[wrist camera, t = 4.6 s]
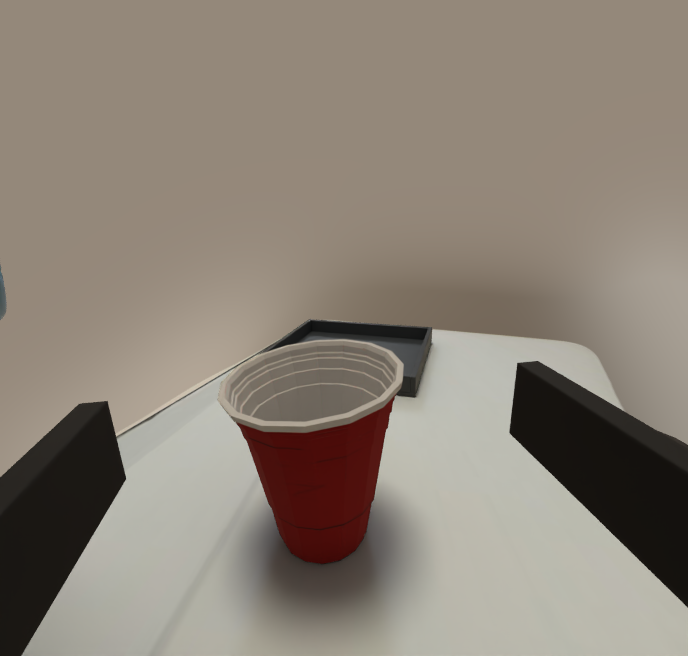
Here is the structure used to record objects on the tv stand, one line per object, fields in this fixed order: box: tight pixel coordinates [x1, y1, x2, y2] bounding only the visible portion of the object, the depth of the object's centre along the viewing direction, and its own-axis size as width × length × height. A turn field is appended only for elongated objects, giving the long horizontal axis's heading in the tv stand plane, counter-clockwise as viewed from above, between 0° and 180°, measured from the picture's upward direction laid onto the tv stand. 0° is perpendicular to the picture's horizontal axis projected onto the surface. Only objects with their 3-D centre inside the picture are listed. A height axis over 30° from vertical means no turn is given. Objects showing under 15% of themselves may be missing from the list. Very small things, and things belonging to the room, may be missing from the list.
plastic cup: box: [218, 339, 404, 564], centre depth 24 cm, size 11×11×12 cm
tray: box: [260, 319, 432, 397], centre depth 55 cm, size 21×19×2 cm
